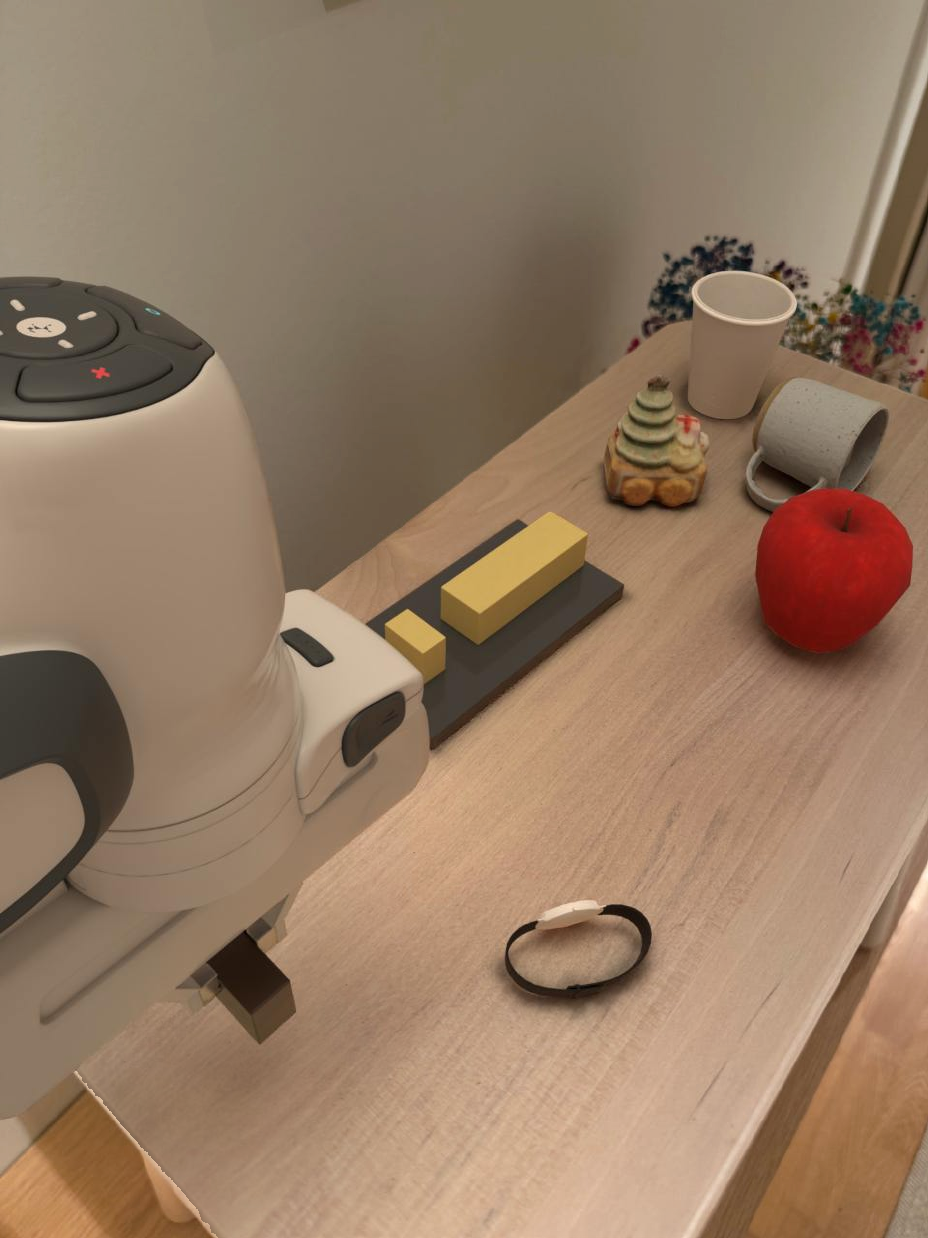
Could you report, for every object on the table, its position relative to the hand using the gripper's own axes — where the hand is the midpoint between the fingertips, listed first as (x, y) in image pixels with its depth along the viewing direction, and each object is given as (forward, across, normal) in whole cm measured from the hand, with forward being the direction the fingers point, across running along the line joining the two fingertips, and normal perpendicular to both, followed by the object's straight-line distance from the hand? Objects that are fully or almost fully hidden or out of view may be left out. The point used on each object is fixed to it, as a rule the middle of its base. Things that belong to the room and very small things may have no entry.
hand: (230, 964), depth 44 cm
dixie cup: (+11, +64, +16) cm, 67 cm away
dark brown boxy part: (+2, 0, +3) cm, 3 cm away
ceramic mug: (+11, +59, +5) cm, 60 cm away
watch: (+10, +15, -8) cm, 20 cm away
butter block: (+9, +32, +12) cm, 36 cm away
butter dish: (+10, +29, +12) cm, 33 cm away
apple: (+11, +45, -4) cm, 46 cm away
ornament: (+11, +50, +13) cm, 53 cm away
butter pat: (+9, +23, +12) cm, 28 cm away
